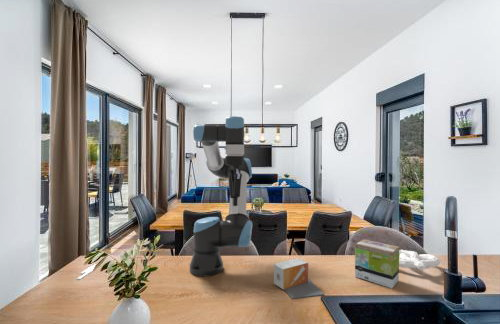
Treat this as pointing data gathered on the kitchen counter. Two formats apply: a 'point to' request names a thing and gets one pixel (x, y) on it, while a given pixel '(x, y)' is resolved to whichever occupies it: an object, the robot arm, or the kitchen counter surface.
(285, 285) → the small box
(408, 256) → the white towel
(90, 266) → the white plastic blade
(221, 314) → the kitchen counter surface
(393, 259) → the tea box
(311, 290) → the mat
